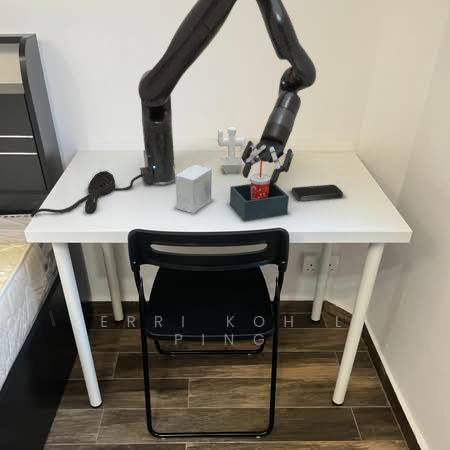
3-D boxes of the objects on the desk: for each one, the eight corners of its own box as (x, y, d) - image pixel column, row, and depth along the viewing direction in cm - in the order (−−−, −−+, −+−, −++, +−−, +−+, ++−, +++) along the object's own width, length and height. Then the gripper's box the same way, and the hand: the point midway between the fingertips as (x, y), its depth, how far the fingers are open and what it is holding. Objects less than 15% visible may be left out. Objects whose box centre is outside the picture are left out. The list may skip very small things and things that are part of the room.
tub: (244, 221, 130) (244, 202, 127) (229, 204, 139) (230, 186, 136) (287, 214, 134) (289, 195, 131) (270, 198, 143) (272, 180, 139)
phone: (344, 194, 143) (298, 197, 141) (343, 197, 144) (298, 200, 141) (334, 184, 149) (290, 187, 147) (334, 187, 150) (290, 190, 148)
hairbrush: (73, 204, 131) (91, 168, 151) (75, 216, 134) (93, 178, 153) (102, 205, 131) (116, 168, 151) (104, 216, 134) (118, 179, 153)
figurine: (245, 174, 158) (247, 130, 149) (218, 175, 157) (218, 131, 149) (243, 167, 164) (244, 124, 155) (216, 167, 163) (216, 124, 154)
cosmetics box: (194, 214, 134) (193, 179, 127) (176, 209, 136) (174, 175, 130) (212, 200, 141) (212, 167, 135) (194, 196, 144) (193, 163, 137)
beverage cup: (247, 202, 138) (248, 156, 130) (266, 201, 139) (270, 156, 131) (250, 211, 134) (252, 164, 125) (270, 210, 134) (274, 164, 126)
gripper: (252, 117, 131) (231, 168, 130) (298, 125, 125) (277, 179, 124) (259, 131, 138) (240, 180, 137) (304, 139, 132) (284, 191, 131)
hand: (258, 179), depth 130 cm, fingers open, 8 cm apart
